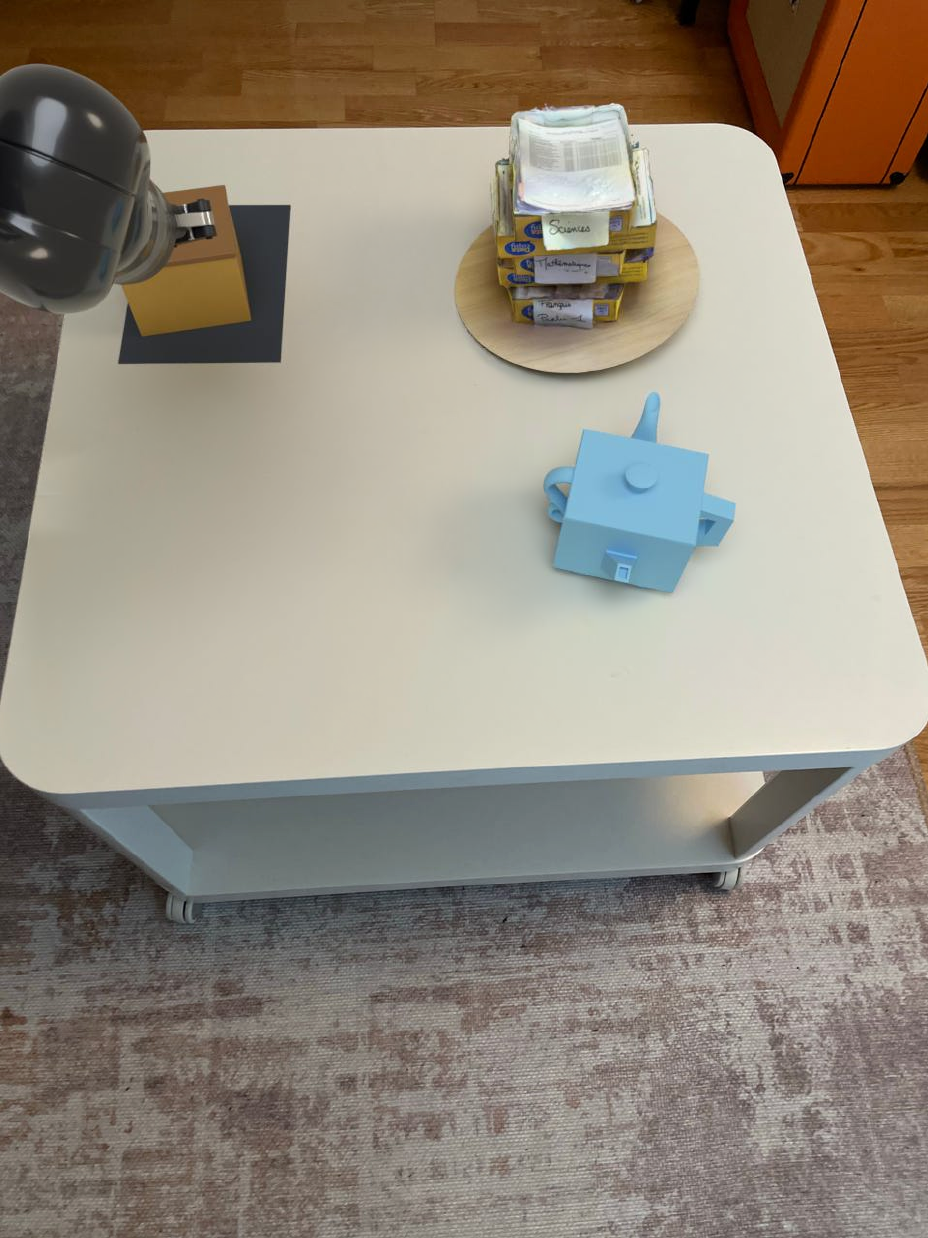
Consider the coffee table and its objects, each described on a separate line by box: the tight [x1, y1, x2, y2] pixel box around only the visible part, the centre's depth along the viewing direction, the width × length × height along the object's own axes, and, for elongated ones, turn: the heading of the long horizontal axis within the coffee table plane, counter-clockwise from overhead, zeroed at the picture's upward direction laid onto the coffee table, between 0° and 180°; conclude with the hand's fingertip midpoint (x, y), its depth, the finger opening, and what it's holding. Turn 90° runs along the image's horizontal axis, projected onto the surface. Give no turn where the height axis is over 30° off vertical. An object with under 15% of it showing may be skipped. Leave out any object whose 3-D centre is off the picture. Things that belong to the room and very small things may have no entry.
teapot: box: [543, 391, 737, 594], centre depth 81 cm, size 16×18×11 cm
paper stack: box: [454, 102, 701, 374], centre depth 91 cm, size 25×25×17 cm
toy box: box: [120, 184, 251, 337], centre depth 93 cm, size 9×11×9 cm
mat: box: [117, 204, 292, 365], centre depth 98 cm, size 16×22×1 cm
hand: (142, 237), depth 76 cm, fingers closed
